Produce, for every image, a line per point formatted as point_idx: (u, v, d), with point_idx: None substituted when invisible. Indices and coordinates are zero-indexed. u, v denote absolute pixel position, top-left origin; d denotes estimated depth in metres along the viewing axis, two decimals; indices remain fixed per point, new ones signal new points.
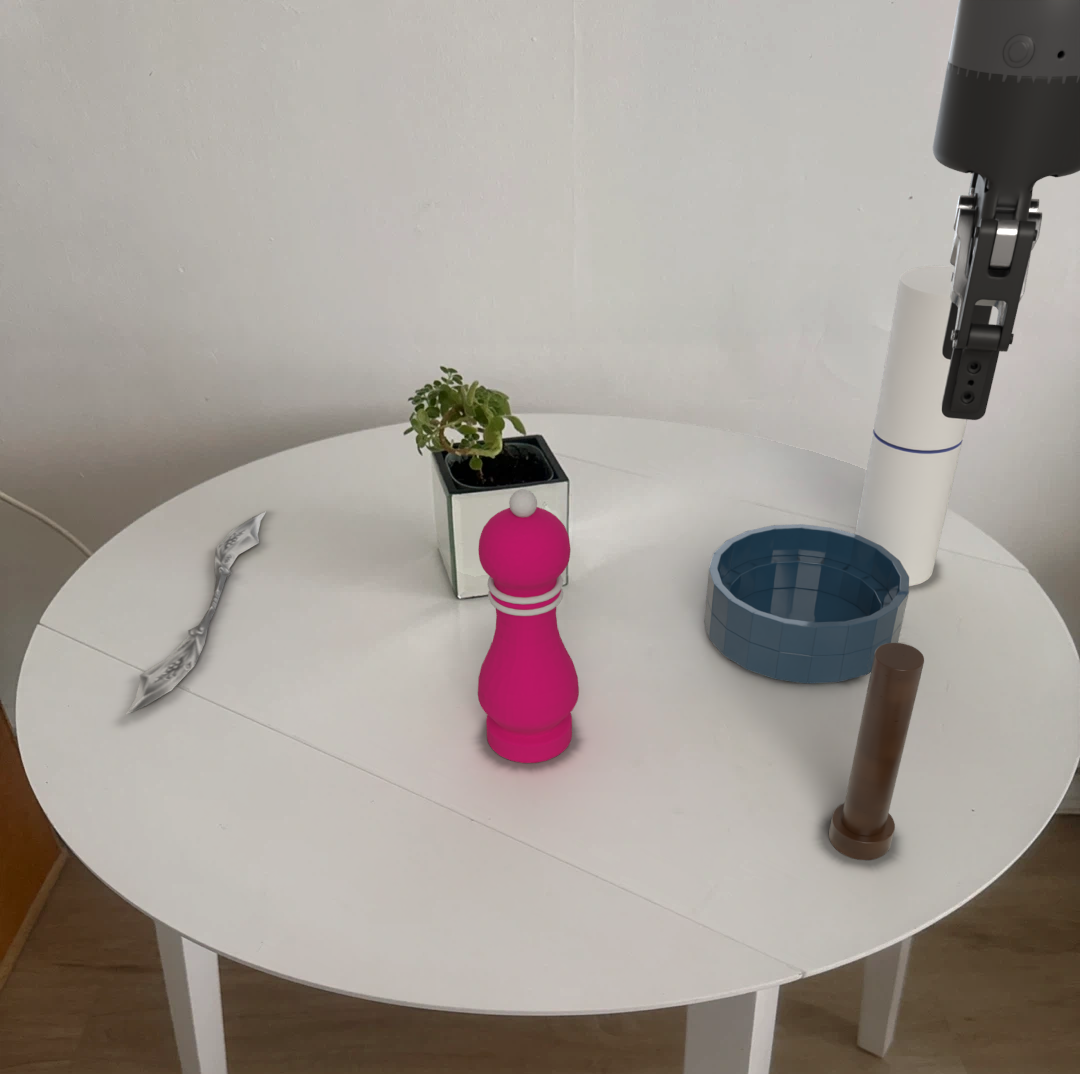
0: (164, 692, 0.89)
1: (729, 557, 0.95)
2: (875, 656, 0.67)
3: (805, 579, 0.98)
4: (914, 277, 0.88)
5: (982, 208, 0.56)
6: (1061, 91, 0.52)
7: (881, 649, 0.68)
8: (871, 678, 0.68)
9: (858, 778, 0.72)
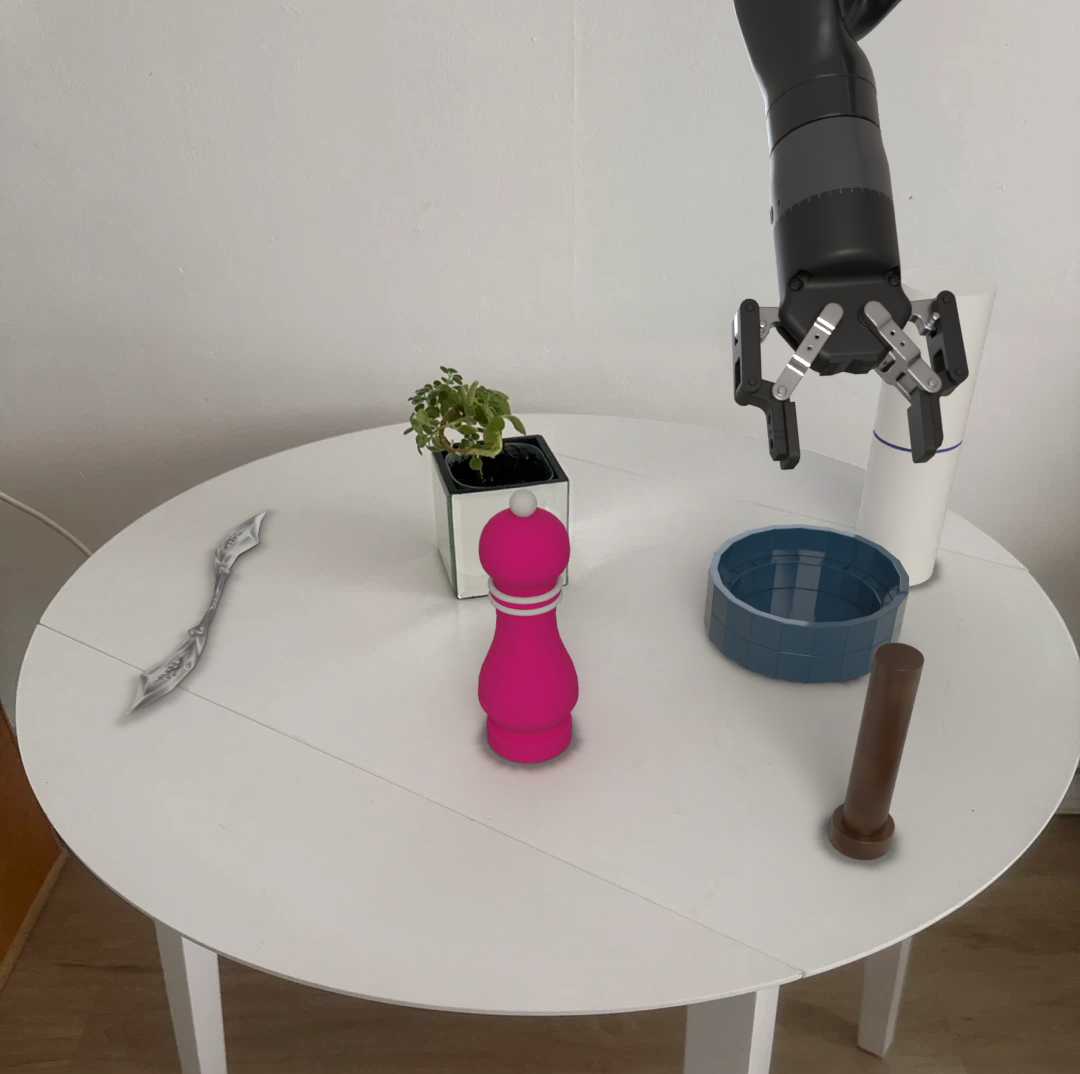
0: (164, 692, 0.89)
1: (729, 557, 0.95)
2: (875, 656, 0.67)
3: (805, 579, 0.98)
4: (914, 277, 0.88)
5: None
6: (784, 221, 0.72)
7: (881, 649, 0.68)
8: (871, 678, 0.68)
9: (858, 778, 0.72)
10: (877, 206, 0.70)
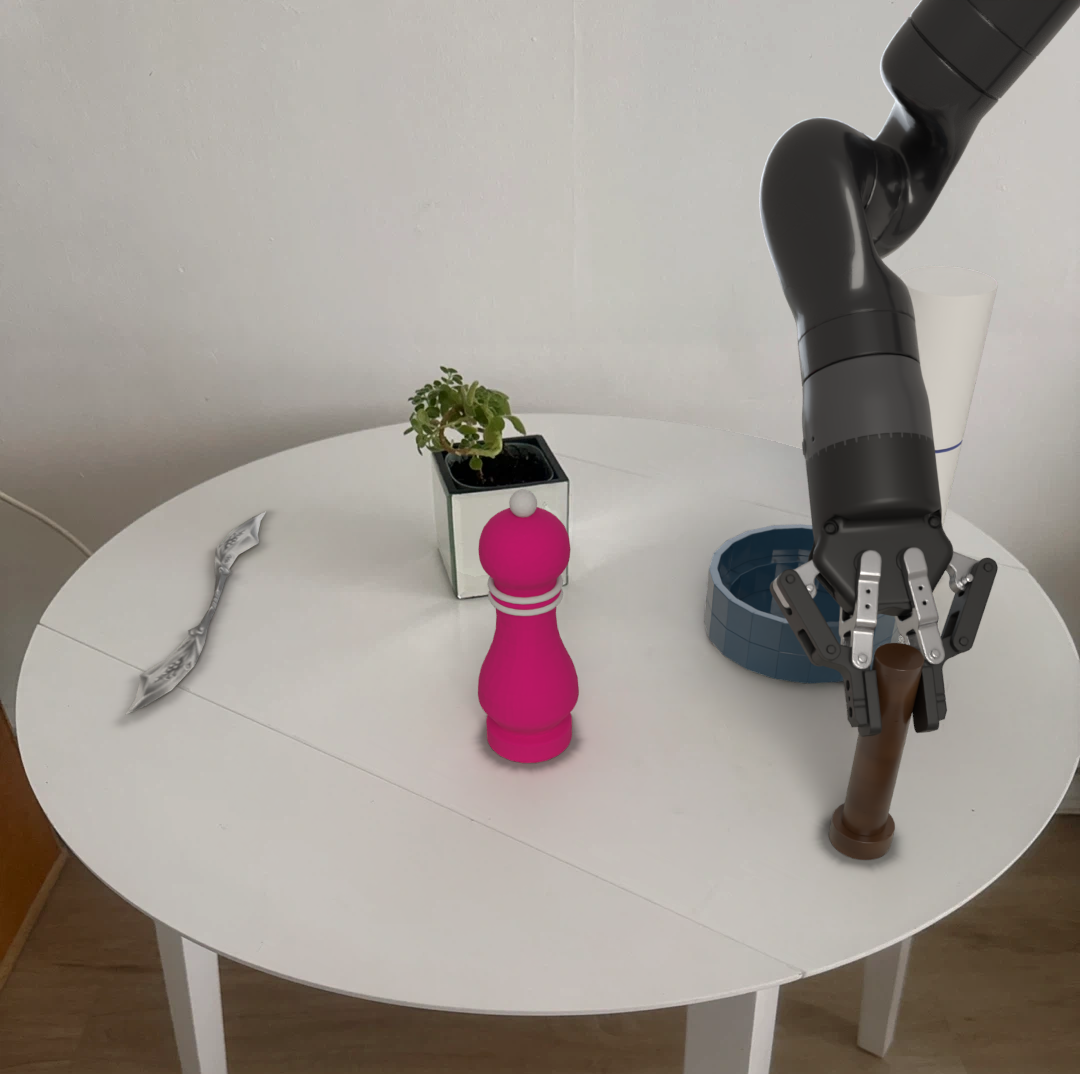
0: (164, 692, 0.89)
1: (729, 557, 0.95)
2: (875, 656, 0.67)
3: None
4: (914, 277, 0.88)
5: None
6: (819, 460, 0.68)
7: (881, 649, 0.68)
8: None
9: (859, 778, 0.72)
10: (917, 451, 0.67)
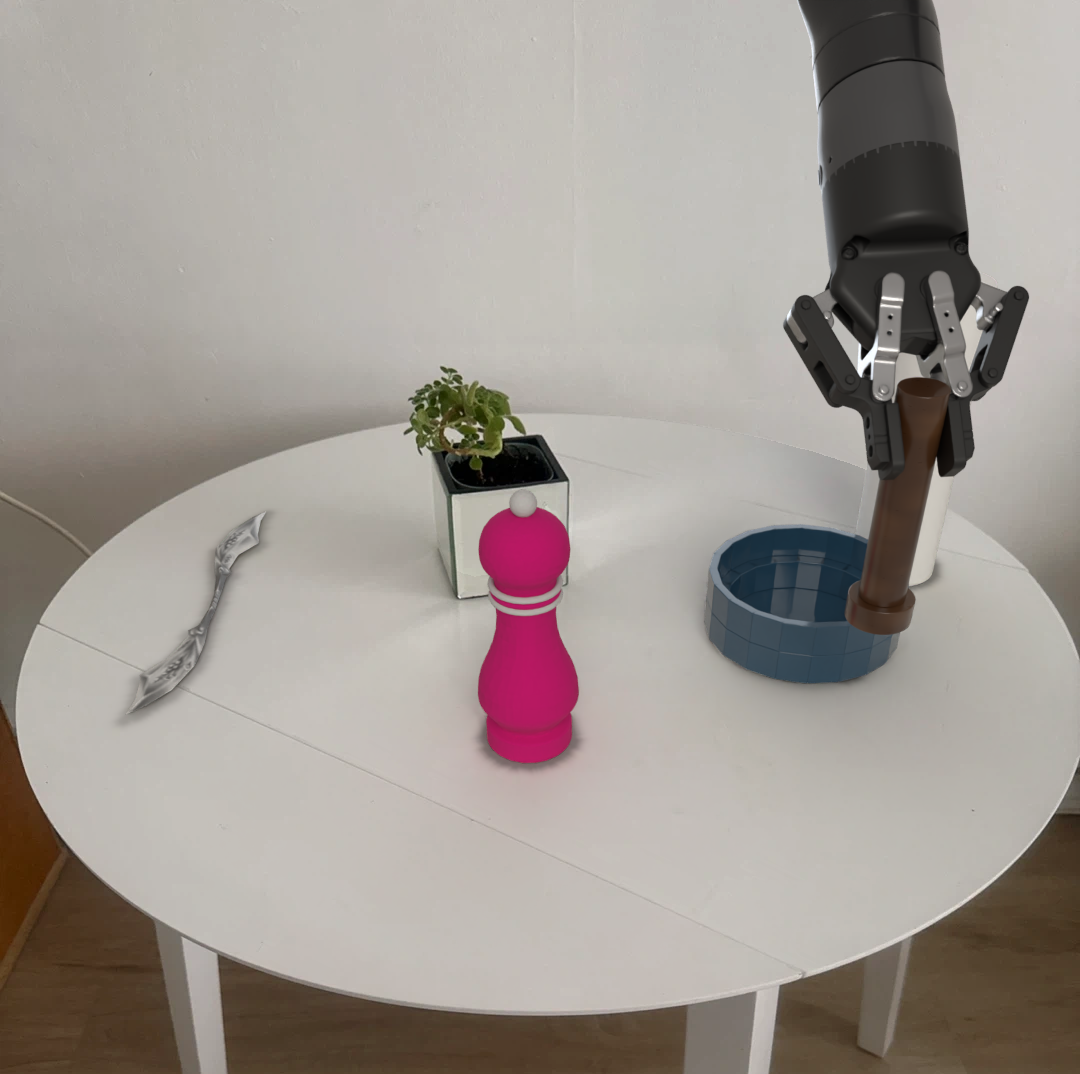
0: (164, 692, 0.89)
1: (729, 557, 0.95)
2: (898, 387, 0.62)
3: (805, 579, 0.98)
4: None
5: None
6: (836, 180, 0.63)
7: (904, 382, 0.63)
8: None
9: (878, 537, 0.67)
10: (944, 162, 0.62)
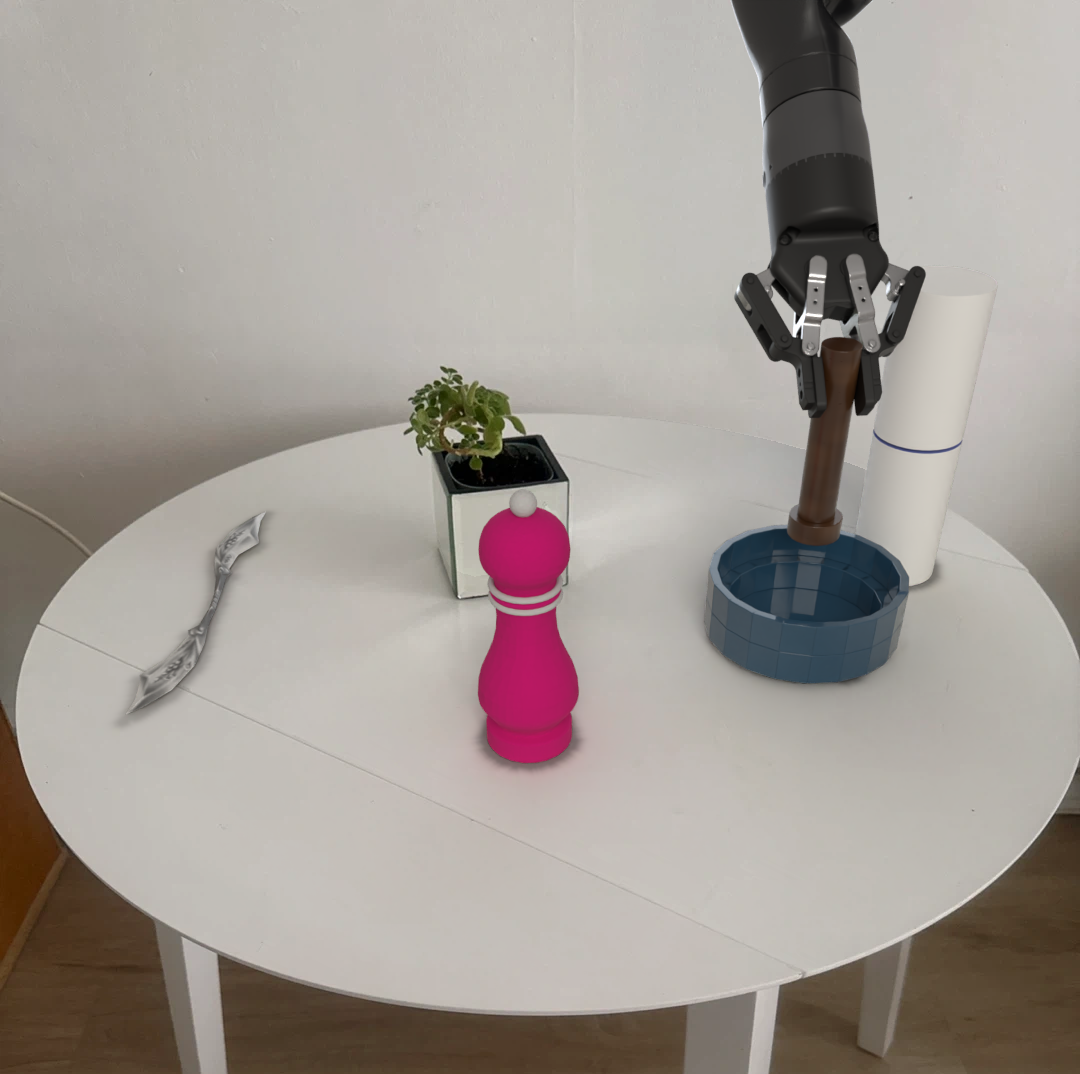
0: (164, 692, 0.89)
1: (729, 557, 0.95)
2: (821, 344, 0.80)
3: (805, 579, 0.98)
4: None
5: None
6: (775, 183, 0.81)
7: (827, 340, 0.80)
8: None
9: (810, 465, 0.85)
10: (857, 169, 0.79)
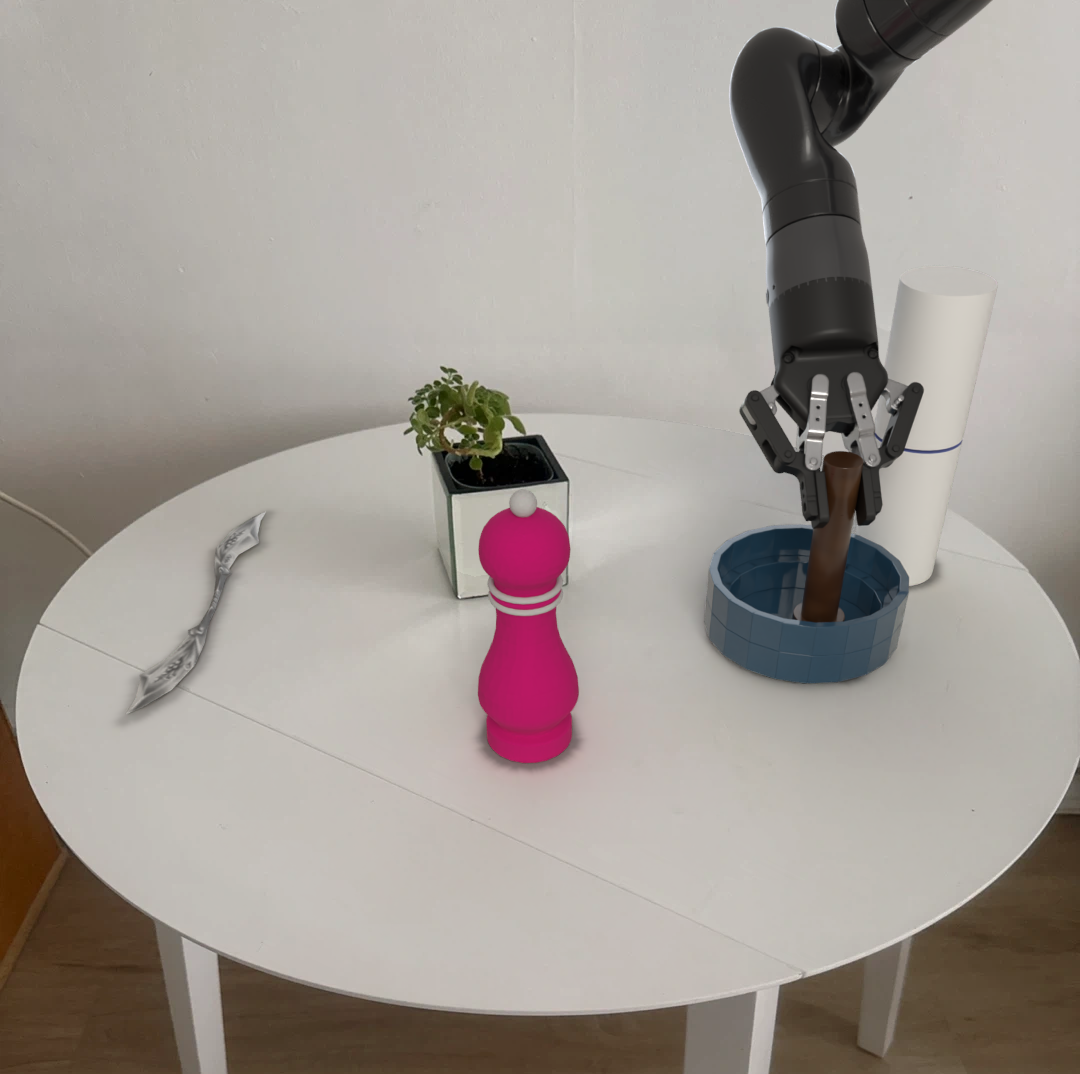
0: (164, 692, 0.89)
1: (729, 557, 0.95)
2: (824, 460, 0.83)
3: (805, 579, 0.98)
4: (914, 277, 0.88)
5: None
6: (778, 303, 0.84)
7: (829, 455, 0.84)
8: None
9: (813, 570, 0.88)
10: (857, 292, 0.82)
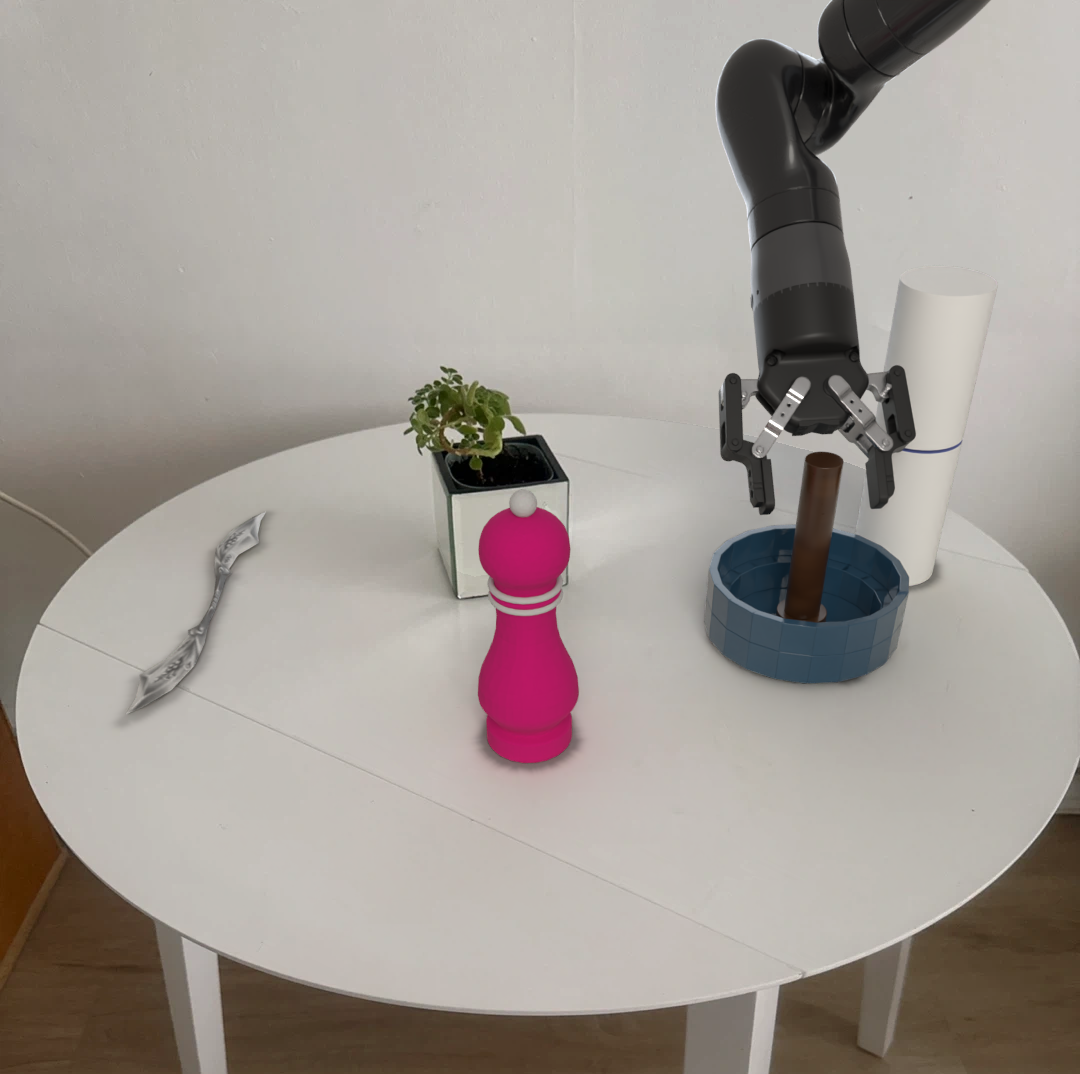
0: (164, 692, 0.89)
1: (729, 557, 0.95)
2: (805, 460, 0.85)
3: None
4: (914, 277, 0.88)
5: None
6: (762, 308, 0.87)
7: (810, 455, 0.86)
8: (802, 479, 0.86)
9: (795, 568, 0.90)
10: (838, 297, 0.85)
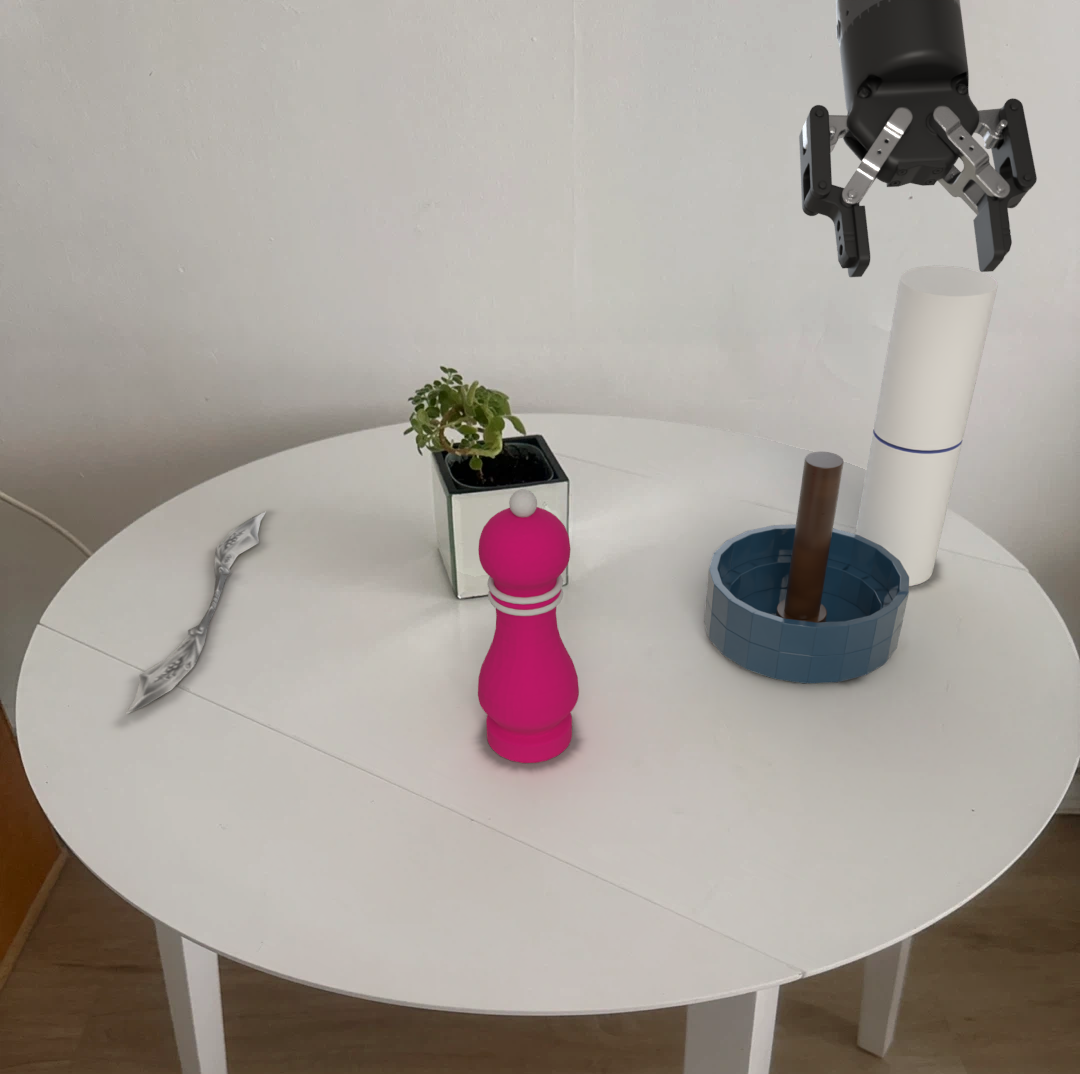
0: (164, 692, 0.89)
1: (729, 557, 0.95)
2: (805, 460, 0.85)
3: None
4: (914, 277, 0.88)
5: None
6: (853, 30, 0.73)
7: (810, 455, 0.86)
8: (802, 479, 0.86)
9: (795, 568, 0.90)
10: (947, 10, 0.71)
